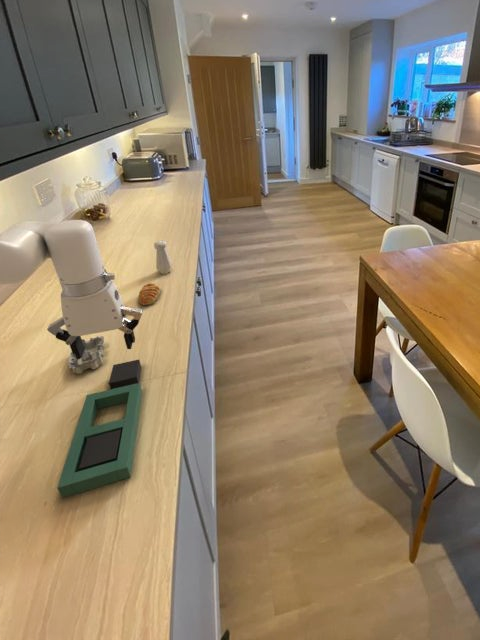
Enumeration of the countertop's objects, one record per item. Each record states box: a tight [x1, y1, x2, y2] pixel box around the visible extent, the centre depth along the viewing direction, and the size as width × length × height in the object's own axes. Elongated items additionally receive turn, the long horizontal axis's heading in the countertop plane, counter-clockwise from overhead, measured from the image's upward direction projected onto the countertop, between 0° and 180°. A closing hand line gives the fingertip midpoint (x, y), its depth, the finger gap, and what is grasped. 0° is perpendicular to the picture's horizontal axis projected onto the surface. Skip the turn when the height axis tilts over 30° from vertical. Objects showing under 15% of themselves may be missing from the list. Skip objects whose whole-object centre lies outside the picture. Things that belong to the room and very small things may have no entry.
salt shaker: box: [153, 240, 173, 275], centre depth 127 cm, size 6×6×13 cm
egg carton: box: [68, 335, 105, 375], centre depth 86 cm, size 11×8×4 cm
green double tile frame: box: [56, 382, 143, 499], centre depth 66 cm, size 11×20×3 cm, turn 18°
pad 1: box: [79, 429, 122, 471], centre depth 63 cm, size 6×6×3 cm
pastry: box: [138, 282, 161, 306], centre depth 112 cm, size 9×7×4 cm
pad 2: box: [108, 359, 142, 390], centre depth 80 cm, size 6×6×3 cm
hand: (106, 349), depth 70 cm, fingers open, 9 cm apart
